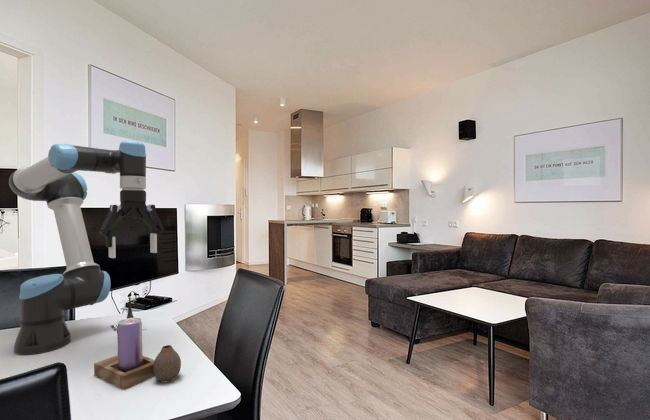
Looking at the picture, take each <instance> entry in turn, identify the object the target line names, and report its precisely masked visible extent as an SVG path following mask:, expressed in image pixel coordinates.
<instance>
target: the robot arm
mask: <svg viewBox="0 0 650 420" xmlns="http://www.w3.org/2000/svg"><path fill="white" fill-rule="evenodd" d="M79 171H83V172H84V171H85V172H98V173H105V174H112V175H113V174H115V175H116V174H119V188H120V189H121V190H120V191H119V202H120V204H119V205H117V204H110V205H109V208H108V213H107V215H106V216H105V219H104V222H103V223H102V225H101V227H100V229H99V230H98V235H100V236H104V237H105V247H106V248H108V258H110V259H116V257H117V256H116V255H117V254H116V253H117V252H116V249H117V248H116V244H117V243H116V236H114V235H115V233H117V231H118V230H119V229H120V228H121V226H122V225H123V224H124V223H125V221H127V220H128V219H129V220H130V219H139V220H141V221H142V222H143V223H144V224H145V225H146V227H147V228H148V229H149V230H150V231H151V232H152V233H150V234H149V244H150V245H149V246H150V249H149V251H150V252H149V253H152V254H156V253H157V254H158V244H159V242H160V236H159V235H160V234H161V233H162V232H164V231H165V227H164V226H163V224H162V221H161V219H160V217H159V215H158V213H157V211H156V205H155V204H148V205H147V204H146V203H147V191H146V189H147V180H146V179H147V174H146V173H147V154H146V145H145V144H144V143H143V142H139V141H133V140H132V141H130V140H127V141H125V140H124V141H121V142H119V147H118V149H117V150H116V149H113V150H112V149H107V148H106V149H105V148H98V147H96V148H95V147H88V146H81V145H73V144H68V143H64V144H63V143H54V144H53V145H51V147H50V149H49V150H48V155H47V156H46V157H45V158H43V159H40V160H39V161H38V162H35V163H34V164H32V165H31V166H24V167H20V168H18V169H16V170H15V171H14V172H12V173H11V175H10V176H9V179H8V185H9V187H10V189H11V191H12V192H13V194H15V195H16V196H18V197H19V198H22V199H25V200H28V201H33V202H34V201H35V202H46V205H47V208H48V209H50V210H52V211H53V214H54V218H55V223H56V226H57V231H58V235H59V239H60V240H59V241H60V244H61V248H62V253H63V258H64V261H65V266H66V267H65V268H66V269H65V271H64V272H63V273H51V274H45V275H40V276H36V277H33V278H30V279H27V280H26V281H24V282H23V283H21V284H20V287H19V288H20V290H19V291H20V292H19V307H20V311H19V312H20V315H19V317H20V327H19V331H18V333H17V336H16V339H15V341H14V344H13V349H14V350H13V351H14V353H15V354H17V355H24V356H25V355H35V354H36V355H37V354H42V353H47V352H51V351H54V350H58V349H60V348H63V347H65V346H67V345H69V344H70V343H71V342H72V341H71V340H72V339H71V332H70V330H69V328H68V325H67V323H66V321H65V311H69V310H73V309H78V308H82V307H86V306H87V307H88V306H93V305H95V304H98V303H102V302H104V301H105V300H107V298H108V296H109V294H110V290H111V277H110V274H109V273H108V271H105V270H101V266H100V264H98V263H96V262H94V257H93V253H92V250H91V246H90V241H89V238H88V233H87V229H86V225H85V220H84V217H83V213H82V208H81V206H82V205H83V204H84V200H85V199H86V198H87V196H88V186H87V183H86V180H85V178H84V177H83V176H82V175H81V174H79V173H77V172H79ZM119 211H120V212H121V213H120V214H119V215H118V217H117V218H116V219H115V217H116V216H117V213H118V212H119ZM146 211H147V212H148V214H149V215H150V216H149V215H148V214H147V212H146ZM150 218H151V219H150ZM114 219H115V221H114ZM113 221H114V222H113Z"/></svg>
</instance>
